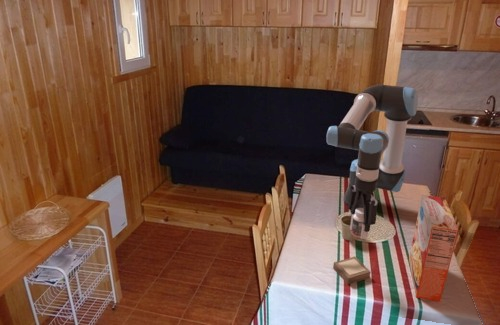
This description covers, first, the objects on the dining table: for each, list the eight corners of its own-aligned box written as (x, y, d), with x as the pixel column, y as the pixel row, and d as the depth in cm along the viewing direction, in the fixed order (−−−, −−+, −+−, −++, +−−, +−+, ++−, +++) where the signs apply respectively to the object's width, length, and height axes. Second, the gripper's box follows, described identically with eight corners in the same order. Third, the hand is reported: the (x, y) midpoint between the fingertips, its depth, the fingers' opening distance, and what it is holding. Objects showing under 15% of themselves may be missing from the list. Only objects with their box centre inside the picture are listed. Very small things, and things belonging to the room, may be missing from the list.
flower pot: (360, 233, 177) (363, 217, 174) (359, 244, 169) (361, 228, 166) (339, 229, 180) (341, 213, 177) (337, 240, 172) (339, 224, 168)
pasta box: (408, 259, 160) (422, 194, 148) (429, 262, 158) (444, 197, 146) (416, 297, 140) (432, 226, 128) (440, 301, 138) (458, 230, 126)
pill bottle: (348, 229, 148) (351, 207, 145) (363, 229, 149) (366, 206, 145) (353, 238, 143) (357, 214, 139) (368, 237, 144) (372, 214, 140)
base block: (333, 268, 154) (333, 262, 153) (354, 262, 158) (354, 256, 157) (347, 284, 146) (348, 277, 145) (369, 277, 149) (370, 271, 148)
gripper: (342, 168, 144) (336, 222, 152) (375, 190, 128) (366, 249, 137) (358, 166, 146) (351, 219, 155) (393, 186, 130) (383, 244, 139)
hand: (358, 233), depth 146 cm, fingers closed on pill bottle, 6 cm apart
